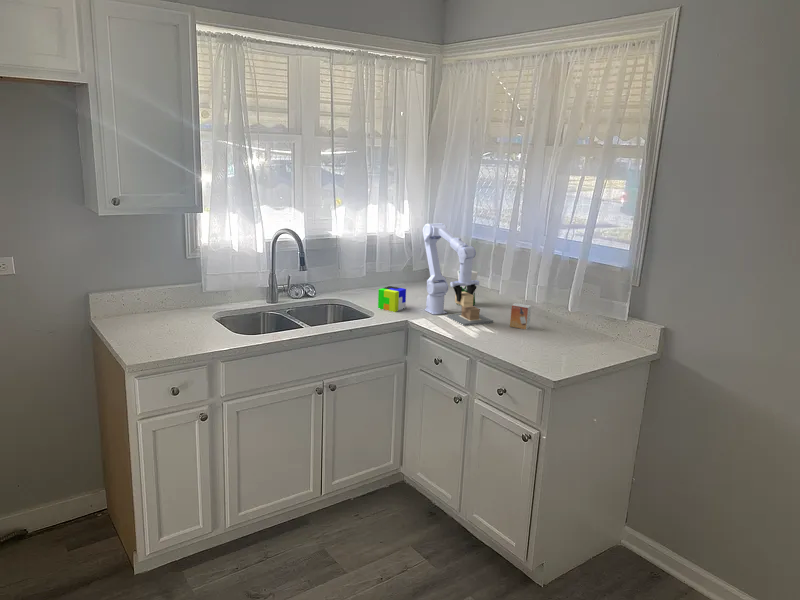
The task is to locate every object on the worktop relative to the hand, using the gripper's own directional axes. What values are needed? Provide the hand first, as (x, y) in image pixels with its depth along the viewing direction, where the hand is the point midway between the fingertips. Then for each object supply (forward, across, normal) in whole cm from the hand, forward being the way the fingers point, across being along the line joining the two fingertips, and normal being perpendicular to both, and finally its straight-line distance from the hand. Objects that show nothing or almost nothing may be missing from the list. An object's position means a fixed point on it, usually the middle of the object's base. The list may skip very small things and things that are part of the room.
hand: (463, 300), depth 286 cm
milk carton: (+11, +18, +27) cm, 34 cm away
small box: (+11, +22, -16) cm, 29 cm away
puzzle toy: (+11, -22, +33) cm, 41 cm away
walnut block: (+9, +5, +2) cm, 11 cm away
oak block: (+2, 0, 0) cm, 2 cm away
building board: (+10, +5, +2) cm, 12 cm away
